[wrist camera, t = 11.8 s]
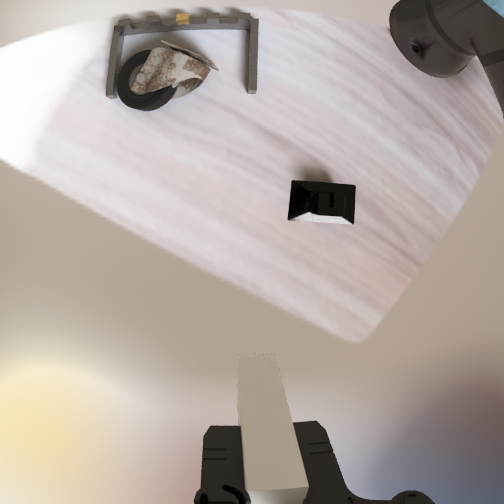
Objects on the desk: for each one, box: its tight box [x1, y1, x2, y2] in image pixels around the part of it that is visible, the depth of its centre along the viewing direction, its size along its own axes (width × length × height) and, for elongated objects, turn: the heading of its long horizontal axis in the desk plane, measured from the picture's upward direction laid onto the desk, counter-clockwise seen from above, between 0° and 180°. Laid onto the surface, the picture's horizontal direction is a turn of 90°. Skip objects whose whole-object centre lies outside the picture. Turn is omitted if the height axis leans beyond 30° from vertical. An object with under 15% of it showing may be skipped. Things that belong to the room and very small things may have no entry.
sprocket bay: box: [106, 13, 259, 99], centre depth 36 cm, size 20×11×4 cm, turn 88°
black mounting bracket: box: [288, 180, 356, 224], centre depth 42 cm, size 12×7×5 cm, turn 87°
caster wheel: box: [117, 40, 219, 111], centre depth 36 cm, size 7×11×10 cm
